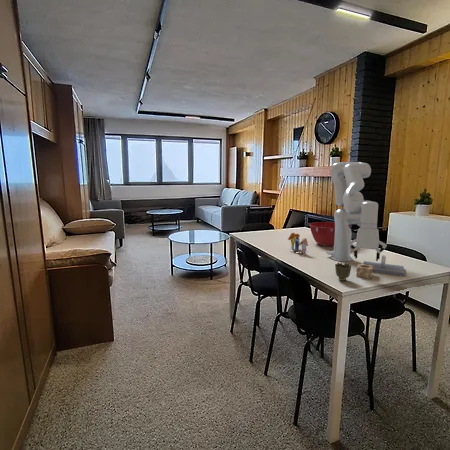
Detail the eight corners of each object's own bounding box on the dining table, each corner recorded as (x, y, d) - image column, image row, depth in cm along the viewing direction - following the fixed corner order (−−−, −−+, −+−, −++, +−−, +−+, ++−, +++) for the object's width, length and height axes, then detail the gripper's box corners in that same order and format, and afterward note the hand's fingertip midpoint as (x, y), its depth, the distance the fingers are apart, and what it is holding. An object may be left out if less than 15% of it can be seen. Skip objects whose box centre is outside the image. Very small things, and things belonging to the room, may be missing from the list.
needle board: (361, 270, 159) (362, 256, 158) (363, 263, 171) (364, 250, 170) (404, 276, 149) (405, 261, 148) (403, 268, 161) (404, 254, 160)
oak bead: (356, 276, 149) (357, 267, 148) (357, 272, 155) (358, 263, 154) (371, 278, 146) (372, 269, 145) (372, 274, 152) (373, 265, 151)
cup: (333, 281, 142) (334, 266, 141) (334, 277, 149) (335, 262, 147) (350, 283, 139) (351, 267, 138) (350, 279, 146) (351, 263, 144)
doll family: (308, 255, 189) (309, 235, 187) (294, 256, 188) (295, 236, 186) (296, 247, 210) (297, 230, 208) (284, 248, 209) (284, 230, 207)
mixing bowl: (300, 244, 221) (301, 224, 219) (321, 238, 240) (322, 220, 237) (335, 251, 200) (337, 229, 198) (354, 244, 219) (356, 224, 216)
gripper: (349, 226, 147) (347, 258, 149) (388, 228, 138) (385, 263, 141) (350, 224, 153) (349, 255, 156) (388, 226, 145) (385, 259, 147)
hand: (366, 259), depth 148 cm, fingers open, 9 cm apart
